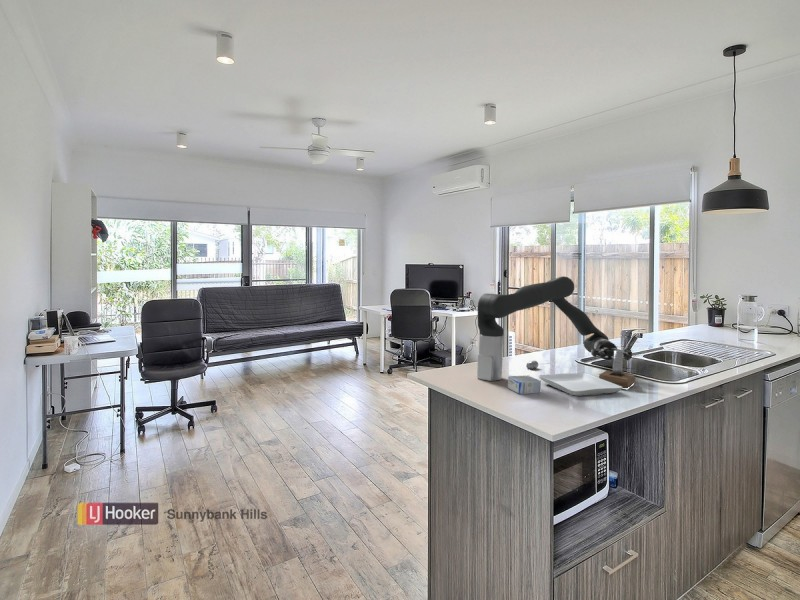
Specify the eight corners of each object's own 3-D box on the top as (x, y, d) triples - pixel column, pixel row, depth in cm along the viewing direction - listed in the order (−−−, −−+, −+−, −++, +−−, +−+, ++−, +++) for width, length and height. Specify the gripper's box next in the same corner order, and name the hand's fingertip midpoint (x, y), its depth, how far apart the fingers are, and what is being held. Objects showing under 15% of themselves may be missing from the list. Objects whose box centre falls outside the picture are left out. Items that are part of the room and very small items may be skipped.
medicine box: (528, 386, 166) (507, 388, 164) (529, 374, 166) (507, 376, 164) (540, 392, 159) (518, 394, 157) (541, 380, 158) (519, 381, 156)
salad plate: (624, 395, 159) (624, 386, 158) (573, 400, 152) (573, 390, 152) (583, 380, 179) (583, 371, 178) (536, 383, 172) (537, 374, 172)
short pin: (531, 371, 193) (536, 369, 197) (534, 365, 192) (539, 363, 196) (525, 367, 195) (530, 365, 199) (528, 361, 194) (533, 359, 198)
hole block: (627, 390, 164) (627, 379, 164) (598, 385, 171) (599, 374, 170) (634, 384, 172) (635, 374, 171) (606, 380, 178) (607, 370, 178)
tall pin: (619, 386, 169) (621, 352, 168) (610, 384, 171) (612, 351, 170) (622, 384, 172) (624, 351, 171) (613, 383, 174) (615, 349, 173)
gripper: (587, 339, 190) (596, 346, 174) (623, 341, 188) (636, 348, 172) (586, 356, 191) (595, 365, 175) (622, 358, 188) (635, 367, 172)
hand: (616, 357), depth 173 cm, fingers open, 8 cm apart
